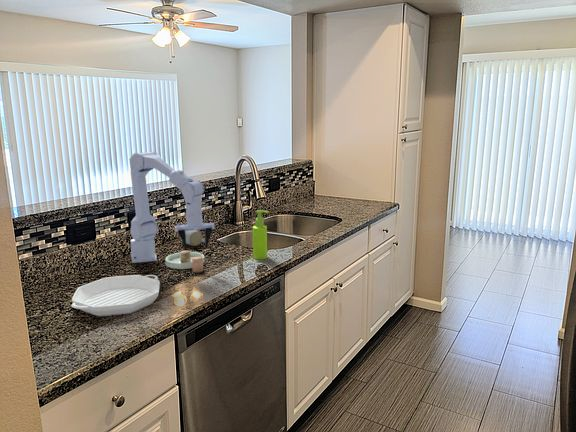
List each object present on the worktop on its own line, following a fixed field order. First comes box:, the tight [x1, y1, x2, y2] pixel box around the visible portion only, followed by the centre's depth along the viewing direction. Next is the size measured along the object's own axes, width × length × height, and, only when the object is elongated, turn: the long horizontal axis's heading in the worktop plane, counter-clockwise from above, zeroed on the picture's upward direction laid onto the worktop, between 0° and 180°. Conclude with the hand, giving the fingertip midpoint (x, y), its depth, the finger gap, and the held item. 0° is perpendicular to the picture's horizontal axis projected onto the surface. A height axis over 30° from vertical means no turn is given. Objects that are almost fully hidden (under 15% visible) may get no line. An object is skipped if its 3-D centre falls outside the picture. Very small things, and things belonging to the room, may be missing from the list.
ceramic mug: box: [179, 230, 205, 247], centre depth 206 cm, size 11×8×8 cm
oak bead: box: [180, 250, 192, 263], centre depth 177 cm, size 4×4×5 cm
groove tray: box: [165, 251, 205, 270], centre depth 181 cm, size 15×15×2 cm
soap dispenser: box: [252, 209, 270, 260], centre depth 185 cm, size 6×7×20 cm
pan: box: [70, 274, 161, 317], centre depth 143 cm, size 31×26×4 cm
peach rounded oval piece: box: [191, 257, 204, 273], centre depth 171 cm, size 4×4×5 cm
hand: (195, 248), depth 170 cm, fingers open, 7 cm apart
